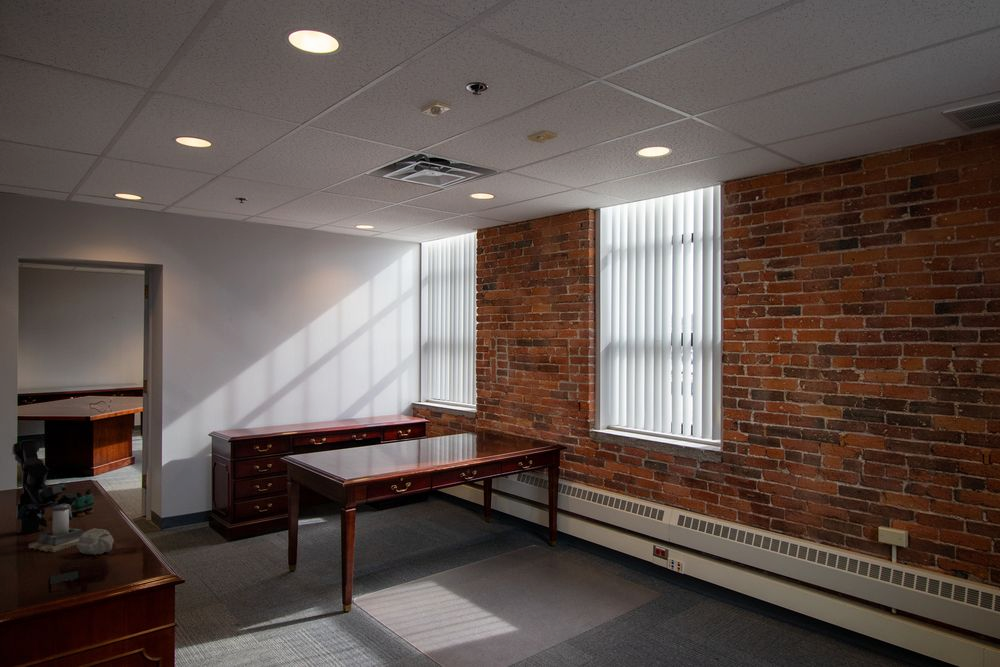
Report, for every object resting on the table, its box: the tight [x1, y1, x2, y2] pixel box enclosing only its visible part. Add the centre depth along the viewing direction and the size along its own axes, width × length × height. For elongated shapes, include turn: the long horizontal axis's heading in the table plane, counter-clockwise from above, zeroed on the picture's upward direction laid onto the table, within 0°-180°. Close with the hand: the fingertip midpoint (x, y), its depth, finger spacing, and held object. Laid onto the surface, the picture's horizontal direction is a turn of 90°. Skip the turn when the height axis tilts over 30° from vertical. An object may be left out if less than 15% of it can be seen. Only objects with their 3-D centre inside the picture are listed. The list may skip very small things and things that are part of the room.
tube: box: [51, 504, 70, 536], centre depth 226 cm, size 5×5×13 cm
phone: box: [49, 571, 79, 585], centre depth 189 cm, size 7×1×15 cm
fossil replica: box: [76, 527, 115, 556], centre depth 216 cm, size 12×8×10 cm
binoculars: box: [71, 488, 95, 517], centre depth 266 cm, size 9×11×10 cm
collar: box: [27, 527, 84, 553], centre depth 225 cm, size 14×14×4 cm
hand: (59, 522), depth 226 cm, fingers open, 9 cm apart
